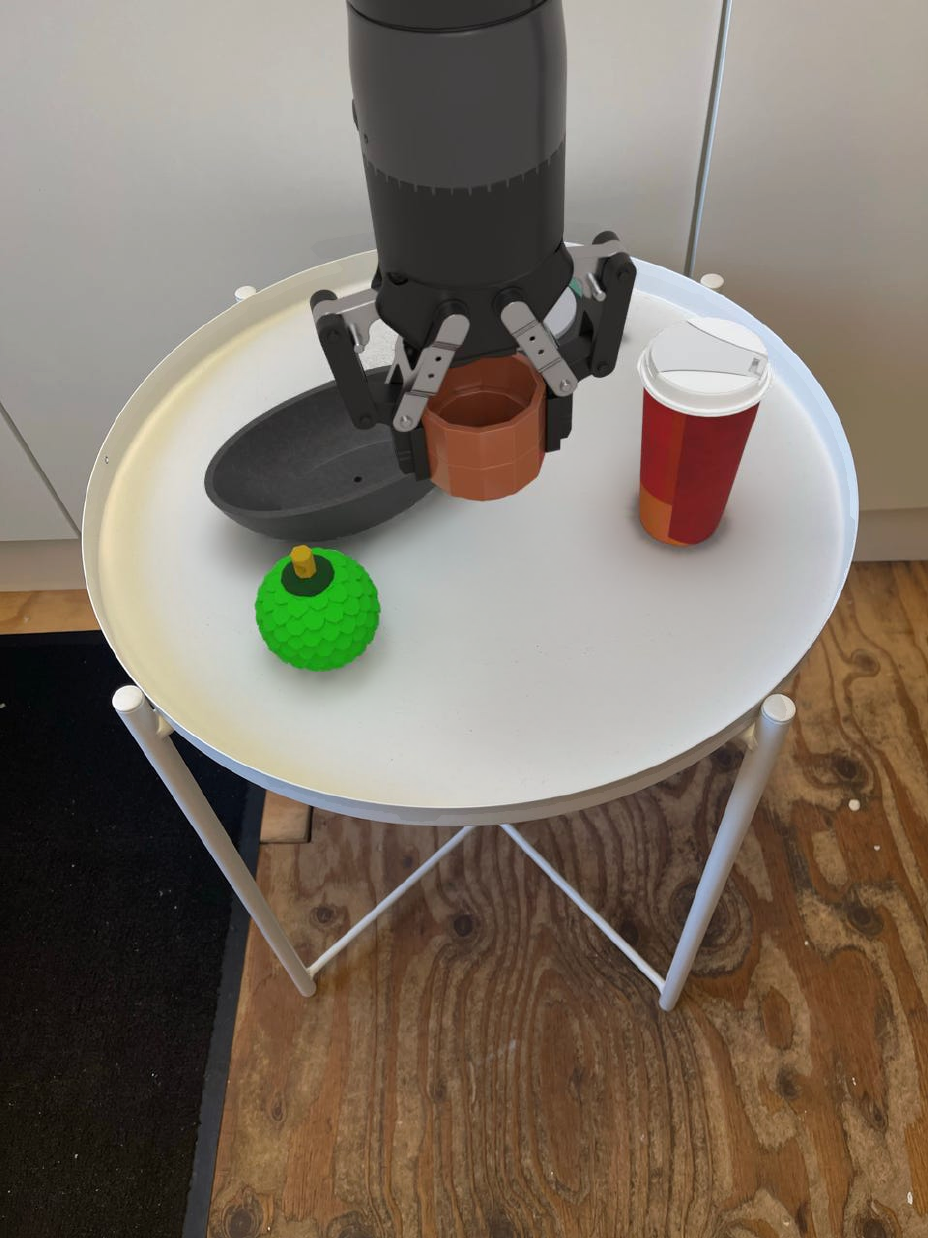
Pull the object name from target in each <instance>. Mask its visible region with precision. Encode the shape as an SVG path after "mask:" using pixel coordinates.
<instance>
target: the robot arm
mask: <svg viewBox="0 0 928 1238" xmlns="http://www.w3.org/2000/svg"><path fill="white" fill-rule="evenodd" d="M345 5H346V13H347V17H346V18H347V55H348V68H349V69H348V70H349V77H350V85H351V92H352V99H351V111H352V119H353V123H354V125H355V127H356V131H357V132H358V136H359V137H358V138H359V142H360V150H361V156H362V157H361V158H362V163H363V169H364V175H365V183H366V188H367V189H366V190H367V194H368V195H367V196H368V200H369V207H370V214H371V220H372V226H373V233H374V240H375V247H376V252H377V265H376V270H375V273H374V275H373V277H372V280H371V284H370V288H366V289H363V290H360V291H358V292H355V293H352V294H348V295H346V296H343V297H339V298H338V295H337V294H336V293H335V292H333V291H332V290H331V289H327V288H326V289H318V290H317V291H315V292H314V293H313V294H312V295H311V297H310V299H309V307H310V310H311V315H312V318H313V322H314V326H315V330H316V334H317V338H318V341H319V344H320V346H321V349H322V351H323V353H324V356H325V359H326V362H327V363H328V366H329V368H330V371H331V374H332V376H333V378H334V380H335V381H336V383H337V386H338V388H339V391H340V393H341V396H342V398H343V401H344V403H345V406H346V408H347V410H348V413H349V415H350V418H351V420H352V423H353V425H354V426H355V427H356V428H357V429H360V430H368V429H371V428H373V427H374V426H375V425H376V424H377V423H378V424H385V425H388V426H389V427H390V429H391V435H392V440H393V447H394V451H395V454H396V458H397V461H398V464H399V468H400V469H401V471H402V472H403V473H404V474H405V475H406V474H410V473H414V476H415V479H416V482H421V481H425V480H430V471H429V463H428V456H427V448H426V441H425V433H424V427H423V424H422V422H421V419H420V418H421V416H422V414H423V412H424V409H425V407H426V405H427V402H428V400H429V398H430V396H436V394H437V393H438V391H439V388H440V386H441V384H442V382H443V379H444V377H445V375H446V373H447V370H448V368H449V369H452V368H456V367H461V366H466V365H468V364H470V363H472V362H475V361H477V360H479V359H481V358H502V357H507V356H511V355H516V354H517V348H519V347H521V348H522V350H523V351H524V352H525V354H526V355H527V357H528V358H529V360H530V361H531V363H532V364H533V365H534V367H535V368H536V370H537V371H538V372H539V373H541V375H542V377H543V379H544V382H545V384H546V453H545V454H548V453H552V452H557V451H560V450H561V448H562V447H561V444H562V443H561V441H562V440H564V439H568V438H569V436H570V434H571V432H572V431H573V409H574V407H573V405H574V393H575V391H576V390H577V388H578V386H579V383H580V382H581V381H583V380H584V379H586V378H588V377H591V376H593V378H597V379H603V378H606V377H608V376H610V375H611V374H612V373H613V372H614V370H615V368H616V365H617V362H618V361H617V360H618V356H619V352H620V348H621V343H622V339H623V335H624V331H625V327H626V326H625V325H626V323H627V317H628V314H629V309H630V305H631V301H632V296H633V291H634V288H635V283H636V279H637V275H638V269H637V267H636V265H635V263H634V262H633V260H632V258H631V256H630V254H629V252H628V250H627V248H626V247H625V246H624V244H623V243H622V242H621V240H620V239H619V237H618V235H617V233H615V232H614V231H612V230H605V231H602V232H599V233H598V234H597V235H596V236H595V237H594V238H593V240H592V242H591V244H586V245H585V244H584V245H574V246H566V243H565V242H564V233H565V197H566V196H565V195H566V194H565V193H566V155H567V153H566V152H567V151H566V147H567V146H566V145H567V99H568V96H567V95H568V93H567V92H568V47H567V46H568V44H567V35H566V34H567V33H566V24H565V17H564V8H563V0H345ZM572 278H575V279H576V282H577V284H578V286H579V287H580V289H581V291H582V293H583V294H582V299H581V305H580V310H579V315H578V321H577V326H576V332H575V338H574V339H573V340H571V341H569V342H567V343H565V344H563V345H562V346H560V344H559V343H558V341H557V340H556V338H555V337H554V335H553V333H552V332H551V330H550V329H549V327H548V326H547V324H546V322H545V320H544V319H545V318H546V316H547V315H548V314H549V312H550V311H551V309H552V308H553V307H554V305H555V304H556V302H557V301H558V300H559V298H560V297H561V295H562V294H563V292H564V291H565V290H566V288H567V287H568V285H569V284H570V282H571V280H572ZM377 320H380V321H382V322H383V324H385V325H386V326H387V327H388V328H390V329H391V330H392V331H393V332H395V333H396V334H397V338H396V340H395V345H394V357H393V361H392V363H391V365H392V366H391V368H390V371H389V373H388V376H387V378H386V381H385V383H371V382H368V379H367V376H366V373H365V369H364V368H365V367H364V365H363V363H362V360H361V358H360V357H361V356H360V354H362V353H364V351H365V347H367V346H368V344H369V342H370V338H371V335H370V329H371V327H372V325H374V323H375V322H376V321H377Z"/></svg>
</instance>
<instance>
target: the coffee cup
mask: <svg viewBox="0 0 928 1238" xmlns="http://www.w3.org/2000/svg"><path fill="white" fill-rule="evenodd" d="M636 365H637V366H636V371H637V373H638V377H639V378H640V382H641V384H642V386H643V389H642V390H643V391H642V411H641V412H642V415H641V435H640V456H639V457H640V458H639V459H640V460H639V485H638V486H639V487H638V515H639V521H640V523H641V525H642V528H643V529H644V531H646V533H647V534H649V535H650V536H651V537H652V538H654V539H656V540H658V541H659V542H661V543H664V544H667V545H671V546H679V547H686V546H687V547H688V546H694V545H697V544H700V543H703V542H704V541H706V540H708V539H710V538H711V537H712V536H713V535H714V534H715V532H717V529H718V528H719V526H720V523H721V520H722V518H723V515H724V512H725V510H726V507H727V505H728V504H727V503H728V501H729V498H730V495H731V492H732V489H733V486H734V482H735V480H736V476H737V474H738V470H739V467H740V465H741V461H742V458H743V455H744V452H745V449H746V446H747V444H748V440H749V437H750V435H751V432H752V428H753V426H754V423H755V420H756V417H757V414H758V410H759V408H760V405H761V401H762V400H763V399H764V398H765V397H766V396H767V394H768V392H769V390H770V389H771V386H772V382H773V369H772V366H771V363H770V361H769V353H768V351H767V348H766V346H765V344H764V343H763V341H762V339H761V338H760V337H759V336H758V335H757V334H756V333H754V332H753V331H752V330H750V329H749V328H748V327H746V326H743V325H742V324H739V323H737V322H734V321H731V320H727V319H724V318H719V317H693V318H687V319H684V320H682V321H678V322H676V323H674V324H672V325H669V326H667V327H666V328H665V329H662V330H661V331H660V333H659V334H657V335H656V336H655V337H653V338H652V339H651V340H650V341H649V343H647V346H646V347H645V348H644V349H643V351H642V352H641V353H640V355H639V358H638V360H637V364H636Z"/></svg>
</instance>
